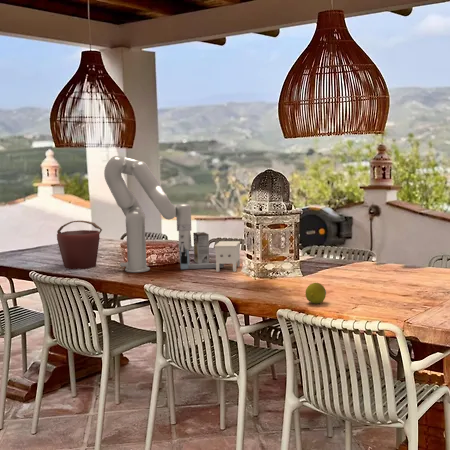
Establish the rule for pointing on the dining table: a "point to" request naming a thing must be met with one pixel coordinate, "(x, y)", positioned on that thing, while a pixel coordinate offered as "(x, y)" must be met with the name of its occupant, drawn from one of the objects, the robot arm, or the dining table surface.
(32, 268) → the dining table surface
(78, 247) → the bucket
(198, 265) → the blue-grey u-shaped bracket
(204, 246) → the coffee box
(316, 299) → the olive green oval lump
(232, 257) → the cabinet
